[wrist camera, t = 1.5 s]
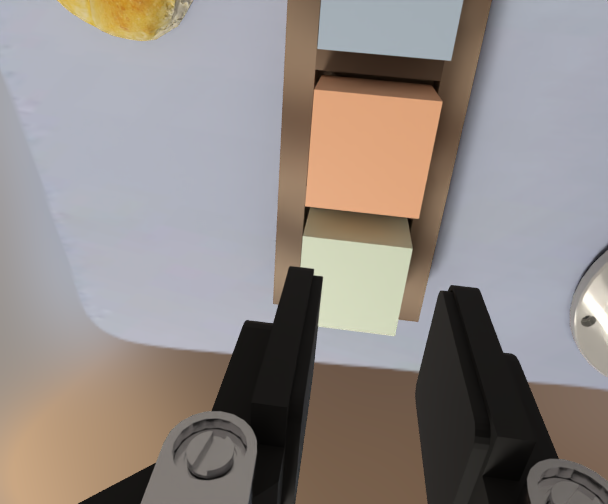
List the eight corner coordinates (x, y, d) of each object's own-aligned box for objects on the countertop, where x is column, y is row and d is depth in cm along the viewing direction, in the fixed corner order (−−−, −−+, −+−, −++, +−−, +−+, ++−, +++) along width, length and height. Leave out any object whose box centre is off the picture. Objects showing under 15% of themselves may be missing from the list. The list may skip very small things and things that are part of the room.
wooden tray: (414, 294, 32) (418, 321, 30) (280, 278, 33) (273, 303, 30) (502, -114, 22) (521, -128, 19) (302, -127, 22) (294, -142, 20)
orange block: (411, 188, 26) (418, 218, 23) (313, 177, 27) (305, 206, 23) (431, 84, 24) (442, 101, 20) (321, 74, 24) (314, 89, 21)
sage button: (391, 295, 30) (394, 336, 26) (304, 284, 30) (295, 323, 27) (406, 215, 27) (412, 248, 24) (310, 204, 27) (302, 236, 24)
